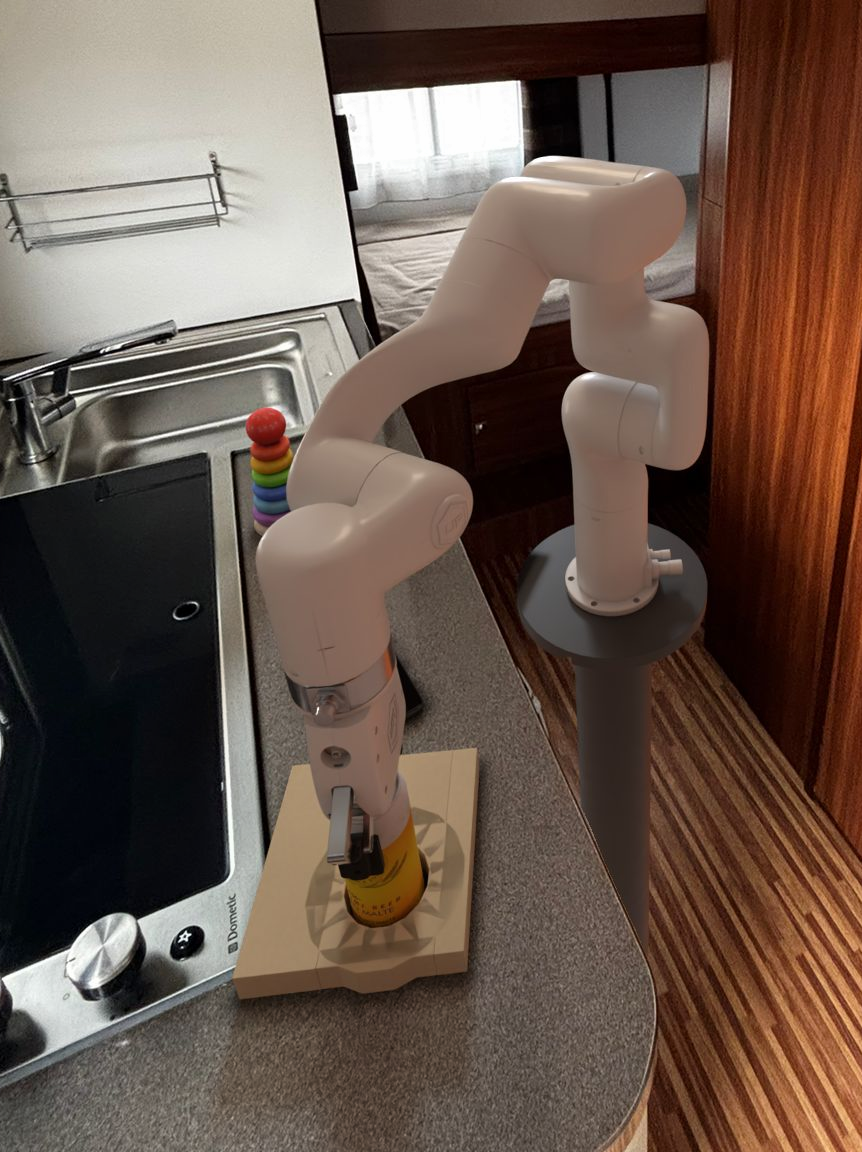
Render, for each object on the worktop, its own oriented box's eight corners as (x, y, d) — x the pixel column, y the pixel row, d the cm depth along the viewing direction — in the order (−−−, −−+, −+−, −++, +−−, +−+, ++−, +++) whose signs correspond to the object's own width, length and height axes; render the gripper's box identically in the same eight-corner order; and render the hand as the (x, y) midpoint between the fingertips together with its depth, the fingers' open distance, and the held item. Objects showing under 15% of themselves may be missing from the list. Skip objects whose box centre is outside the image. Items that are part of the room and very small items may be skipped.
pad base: (479, 767, 83) (477, 747, 82) (466, 981, 66) (463, 960, 65) (297, 785, 81) (292, 765, 80) (236, 1009, 64) (228, 988, 63)
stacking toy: (312, 536, 115) (288, 424, 107) (251, 546, 113) (222, 432, 105) (317, 501, 122) (295, 393, 114) (260, 510, 120) (233, 401, 112)
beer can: (340, 928, 70) (310, 816, 63) (378, 857, 75) (354, 747, 69) (403, 950, 68) (379, 837, 62) (437, 876, 73) (419, 765, 67)
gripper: (373, 767, 52) (407, 921, 59) (409, 571, 67) (432, 712, 75) (251, 780, 51) (300, 934, 58) (316, 578, 67) (349, 720, 74)
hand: (374, 809), depth 67 cm, fingers open, 9 cm apart
